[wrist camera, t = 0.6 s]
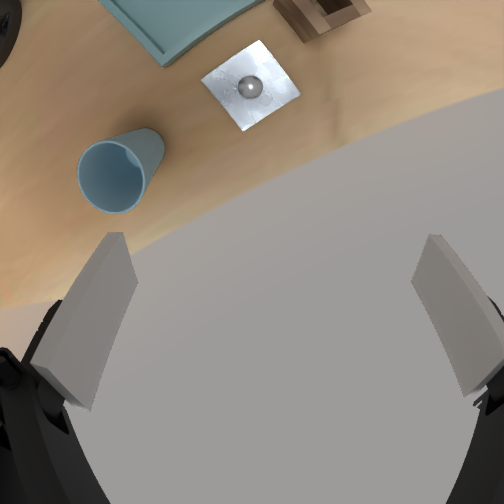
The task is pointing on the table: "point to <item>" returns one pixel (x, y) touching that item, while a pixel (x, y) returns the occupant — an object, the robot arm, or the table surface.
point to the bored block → (319, 15)
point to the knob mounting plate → (251, 85)
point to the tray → (174, 22)
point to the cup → (119, 169)
